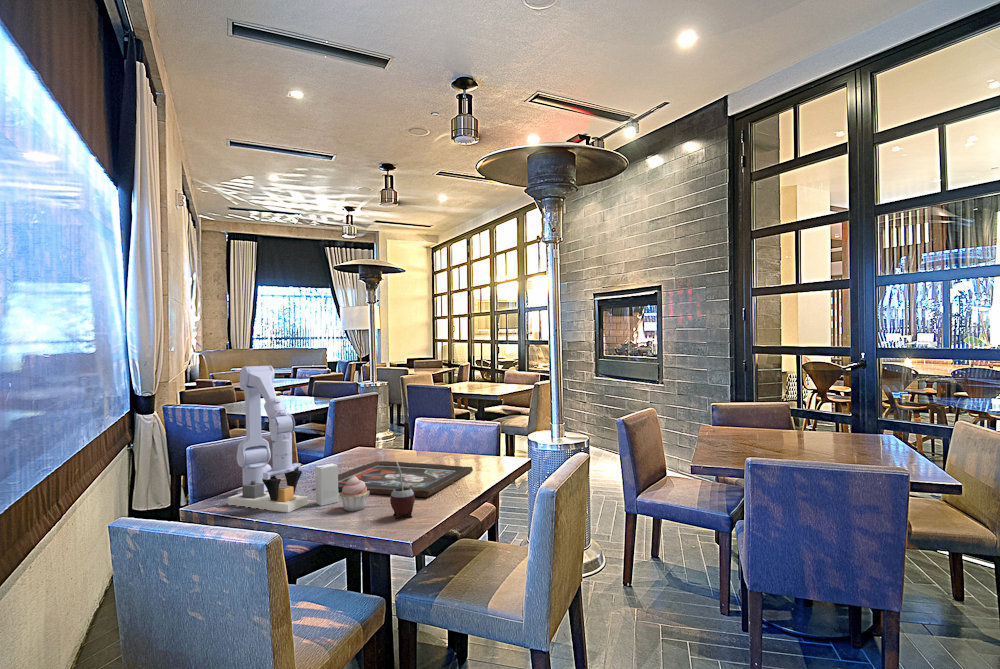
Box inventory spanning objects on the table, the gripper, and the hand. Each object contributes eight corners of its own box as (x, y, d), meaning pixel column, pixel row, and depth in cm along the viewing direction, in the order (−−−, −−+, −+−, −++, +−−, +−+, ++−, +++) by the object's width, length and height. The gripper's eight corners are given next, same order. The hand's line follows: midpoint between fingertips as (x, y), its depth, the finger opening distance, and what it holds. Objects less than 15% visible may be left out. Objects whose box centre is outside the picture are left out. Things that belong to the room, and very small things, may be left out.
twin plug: (252, 500, 187) (251, 479, 187) (264, 501, 185) (263, 480, 185) (242, 503, 183) (242, 482, 183) (254, 505, 181) (254, 483, 181)
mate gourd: (406, 521, 163) (405, 469, 163) (383, 518, 166) (382, 467, 166) (420, 513, 170) (419, 463, 170) (397, 511, 173) (396, 461, 173)
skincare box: (332, 499, 186) (332, 462, 186) (339, 502, 183) (338, 464, 183) (314, 503, 182) (314, 465, 182) (321, 506, 179) (320, 467, 179)
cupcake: (373, 503, 181) (372, 472, 181) (366, 512, 172) (365, 479, 172) (343, 504, 181) (343, 472, 181) (335, 513, 172) (334, 480, 172)
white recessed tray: (249, 497, 190) (249, 489, 190) (308, 504, 182) (307, 496, 182) (228, 505, 182) (227, 497, 182) (288, 512, 173) (287, 503, 173)
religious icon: (431, 500, 185) (431, 490, 185) (314, 491, 199) (314, 482, 199) (476, 472, 223) (476, 465, 223) (375, 467, 237) (375, 460, 237)
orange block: (281, 504, 182) (281, 484, 182) (293, 505, 181) (293, 485, 181) (272, 507, 179) (271, 487, 179) (284, 509, 177) (284, 488, 177)
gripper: (275, 459, 171) (276, 504, 171) (308, 450, 185) (308, 492, 185) (257, 458, 174) (257, 502, 174) (290, 449, 188) (291, 490, 187)
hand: (282, 497), depth 180 cm, fingers open, 7 cm apart
